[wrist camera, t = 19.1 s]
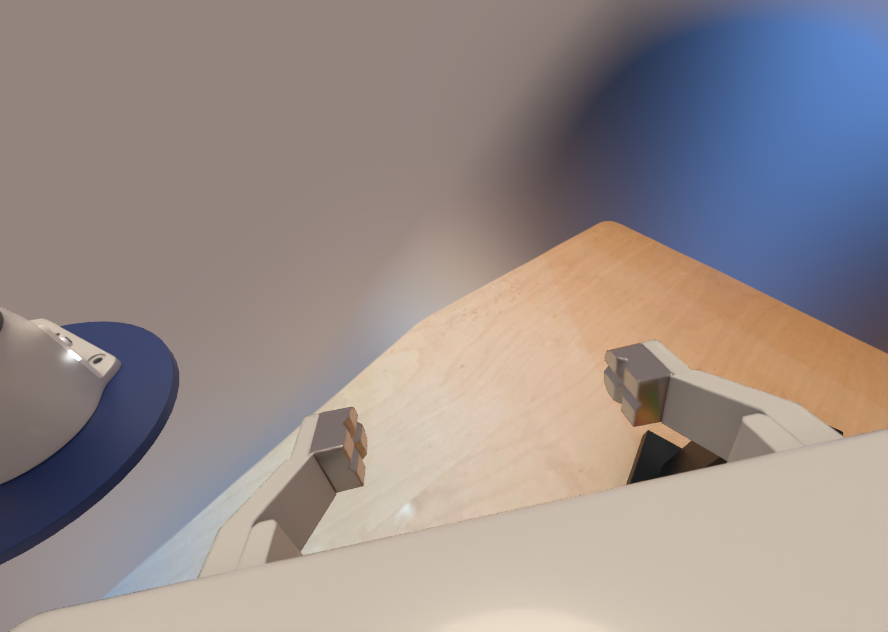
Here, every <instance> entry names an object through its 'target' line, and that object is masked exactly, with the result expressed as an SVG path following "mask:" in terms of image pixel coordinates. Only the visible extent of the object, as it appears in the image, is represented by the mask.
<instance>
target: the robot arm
mask: <svg viewBox="0 0 888 632" xmlns="http://www.w3.org/2000/svg"><path fill="white" fill-rule="evenodd" d="M605 362H606V363H607V364H608V365H609V366H608V367H607V368H606V370H605V371H604V382H605V386H606V389H607V391H608V393H609V395H610V396H611V398H612V399H613V400H614V401H616V402H618V403H620V404H622V406H621V411H622V413H623V414H624V415H625V417H626V418H627V419H628V421H629V422H630V423H631V425H632V426H633V427H636V426H641V425H646V424H652V423H657V422H662V424H664V425H666V426H668V427H669V428H671V429H673V430H674V431H676V432H678V433H680V434H681V435H683V436H685V437H687V438H688V439H690V440H692V441H693V442H695V443H697V444H699V445H700V446H702V447H704V448H706V449H707V450H709V451H711V452H712V453H714V454H716V455H718V456H719V457H721V458H723V459H724V460H726V461H727V463H725V464H721V465H716V466H711V467H707V468H702V469H698V470H693V471H688V472H684V473H679V474H675V475H670V476H665V477H661V478H656V479H652V480H647V481H643V482H638V483H633V484H629V485H624V486H620V487H615V488H611V489H606V490H602V491H597V492H592V493H588V494H583V495H579V496H574V497H570V498H565V499H560V500H556V501H551V502H547V503H542V504H537V505H533V506H528V507H524V508H519V509H514V510H510V511H505V512H501V513H496V514H491V515H487V516H482V517H478V518H473V519H468V520H464V521H459V522H455V523H450V524H445V525H441V526H436V527H432V528H427V529H422V530H418V531H413V532H409V533H404V534H399V535H395V536H390V537H386V538H381V539H377V540H372V541H367V542H363V543H358V544H354V545H349V546H344V547H340V548H335V549H331V550H326V551H321V552H317V553H312V554H308V555H302V554H301V553H300V552H301V550H302V549H303V547H304V545H305V544H306V542H307V541H308V539H309V537H310V536H311V534H312V533H313V531H314V529H315V528H316V526H317V525H318V523H319V521H320V520H321V518H322V517H323V515H324V514H325V512H326V510H327V509H328V507H329V506H330V504H331V502H332V501H333V499H334V498H335V496H336V493H337V492H341V491H345V490H349V489H354V488H358V487H362V486H364V476H365V465H364V462H363V459H364V457H365V456H366V455H367V437H366V433H365V430H364V427H363V425H362V424H360V423H358V422H357V419H358V414H357V412H356V410H355V408H354V407H348V408H343V409H337V410H332V411H327V412H322V413H319V414H314V415H308V416H306V417H305V418H304V419H303V421H302V424H301V427H300V430H299V433H298V436H297V440H296V443H295V446H294V449H293V452H292V455H291V458H290V459H289V460H285V461H284V462H283V463H282V464H281V465H280V466H279V468H278V469H277V470H276V471H275V472H274V473H273V474H272V475H271V476H270V477H269V478H268V479H267V480H266V481H265V482H264V483H263V484H262V485H261V486H260V487H259V488H258V489H257V490H256V491H255V492H254V494H253V495H252V496H251V497H250V498H249V499H248V500H247V501H246V502H245V503H244V504H243V505H242V506H241V507H240V508H239V509H238V510H237V511H236V512H235V513H234V514H233V515H232V516H231V517H230V518H229V520H228V521H227V522H226V523H225V524H224V525H223V526H222V527H221V528H220V529H219V530H218V533H217V535H216V537H215V539H214V542H213V544H212V546H211V549H210V551H209V553H208V555H207V558H206V560H205V562H204V564H203V567H202V569H201V571H200V574H199V576H198V578H197V579H193V580H188V581H184V582H179V583H175V584H170V585H166V586H161V587H156V588H152V589H147V590H143V591H138V592H134V593H129V594H125V595H120V596H115V597H111V598H106V599H102V600H97V601H93V602H88V603H83V604H78V605H73V606H68V607H63V608H58V609H53V610H50V611H46V612H42V613H39V614H36V615H34V616H32V617H30V618H28V619H26V620H25V621H23V622H21V623H20V624H19V625H18V626H16V627H15V628H13V629H12V630H11V631H9V632H888V428H886V429H881V430H877V431H872V432H868V433H863V434H858V435H854V436H849V437H844V436H842V435H841V434H840V433H838V432H837V431H835V430H834V429H833V428H831V427H830V426H829V425H827V424H826V423H825V422H823V421H822V420H820V419H819V418H818V417H816V416H815V415H814V414H812V413H811V412H810V411H808V410H807V409H805V408H804V407H803V406H801V405H800V404H799V403H796V402H793V401H790V400H787V399H784V398H781V397H778V396H775V395H772V394H769V393H766V392H763V391H760V390H757V389H754V388H751V387H748V386H745V385H742V384H739V383H736V382H733V381H730V380H727V379H724V378H721V377H718V376H715V375H712V374H709V373H706V372H703V371H700V370H695V371H693V370H692V369H691V368H689V367H688V366H687V365H686V364H685V363H684V362H683V361H681V360H680V359H679V358H678V357H677V356H676V355H675V354H673V353H672V352H671V351H670V350H669V349H668V348H666V347H665V346H664V345H663V344H662V343H661V342H660V341H658V340H655V339H653V340H649V341H645V342H641V343H638V344H633V345H629V346H625V347H620V348H616V349H611V350H607V352H606V354H605ZM121 365H122V363H121V361H120V360H118V359H117V358H116V357H114V356H113V355H111V354H109V353H107V352H105V351H104V350H102V349H100V348H98V347H96V346H94V345H93V344H91V343H89V342H87V341H85V340H83V339H82V338H80V337H78V336H76V335H74V334H72V333H71V332H69V331H67V330H65V329H63V328H61V327H60V326H58V325H56V324H54V323H52V322H50V321H48V320H46V319H35V320H30V321H28V320H27V319H25V318H23V317H21V316H19V315H17V314H15V313H13V312H11V311H9V310H7V309H5V308H3V307H0V484H3V483H5V482H7V481H9V480H11V479H13V478H15V477H17V476H19V475H21V474H23V473H25V472H27V471H28V470H30V469H32V468H33V467H35V466H37V465H38V464H40V463H41V462H43V461H44V460H46V459H47V458H49V457H50V456H51V455H53V454H54V453H55V452H57V451H58V450H59V449H61V448H62V447H63V446H64V445H65V444H66V443H68V442H69V441H70V440H71V439H72V438H73V437H74V436H75V435H76V434H77V433H78V432H79V431H80V430H81V429H82V428H83V426H84V425H85V424H86V423H87V422H88V420H89V419H90V418H91V416H92V415H93V413H94V411H95V410H96V408H97V406H98V404H99V402H100V399H101V396H102V393H103V390H104V388H105V386H106V385H107V384H108V382H109V381H110V380H111V379H112V378H113V377H114V376H115V374H116V373H117V372H118V370H119V369H120V367H121Z"/></svg>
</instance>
